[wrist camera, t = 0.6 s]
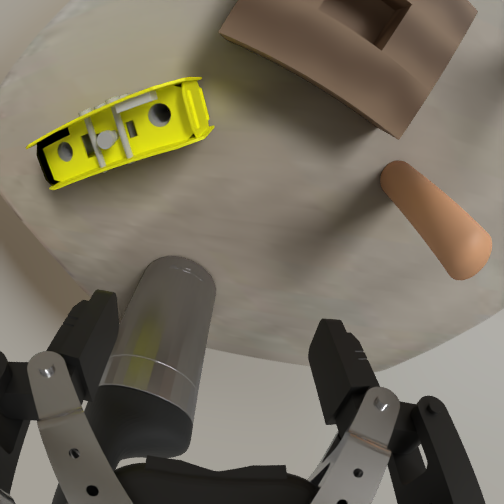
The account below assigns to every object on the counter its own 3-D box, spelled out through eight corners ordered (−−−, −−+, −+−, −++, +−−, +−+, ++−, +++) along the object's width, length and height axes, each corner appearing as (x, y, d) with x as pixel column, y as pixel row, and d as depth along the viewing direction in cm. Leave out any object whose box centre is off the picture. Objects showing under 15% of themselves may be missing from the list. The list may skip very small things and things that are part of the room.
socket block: (377, 127, 25) (398, 139, 21) (226, 39, 21) (218, 32, 17) (449, 15, 17) (477, 11, 13) (311, -78, 13) (319, -100, 9)
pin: (399, 203, 29) (464, 287, 17) (372, 184, 28) (436, 266, 16) (420, 174, 27) (499, 246, 15) (394, 153, 26) (475, 219, 14)
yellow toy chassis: (202, 72, 23) (176, 71, 16) (216, 129, 26) (198, 151, 19) (63, 125, 25) (13, 148, 18) (79, 171, 28) (35, 204, 21)
